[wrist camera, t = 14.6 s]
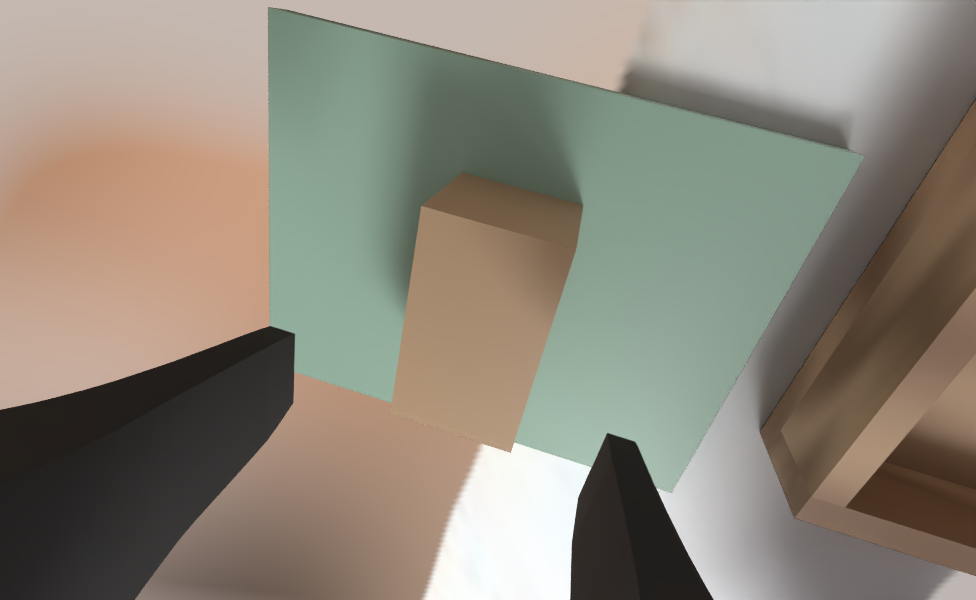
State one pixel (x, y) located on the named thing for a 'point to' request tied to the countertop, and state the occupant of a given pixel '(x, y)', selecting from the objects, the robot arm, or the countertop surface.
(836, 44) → the countertop surface
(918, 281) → the wooden box
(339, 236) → the lid
